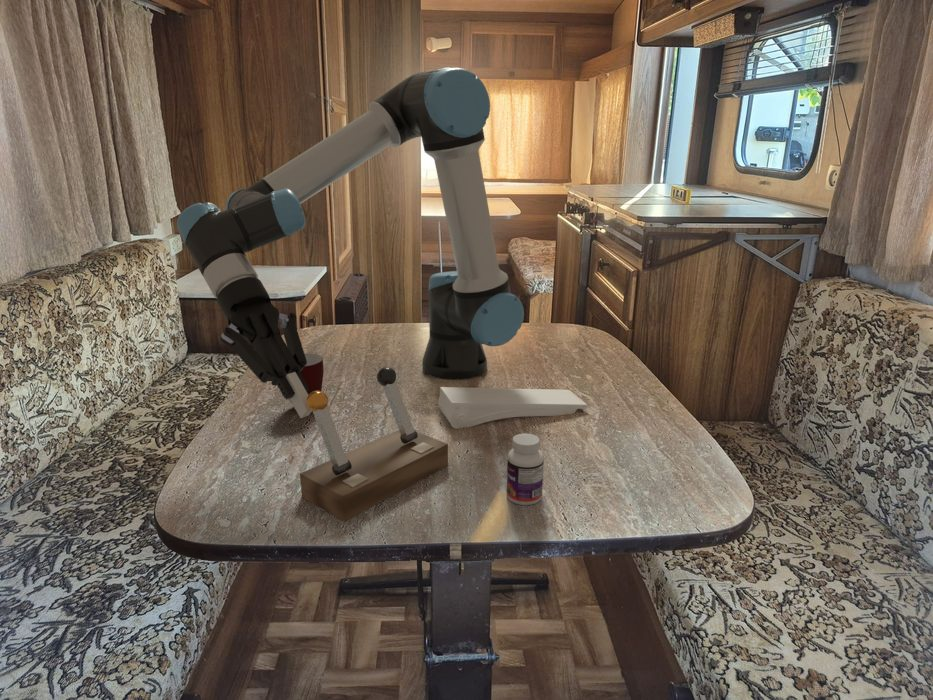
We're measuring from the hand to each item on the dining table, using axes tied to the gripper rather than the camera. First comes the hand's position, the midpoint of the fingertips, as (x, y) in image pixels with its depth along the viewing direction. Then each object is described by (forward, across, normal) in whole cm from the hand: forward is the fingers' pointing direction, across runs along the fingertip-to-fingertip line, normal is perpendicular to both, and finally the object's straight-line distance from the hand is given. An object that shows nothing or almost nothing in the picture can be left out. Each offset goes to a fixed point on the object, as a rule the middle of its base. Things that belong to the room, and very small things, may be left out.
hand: (307, 412), depth 101 cm
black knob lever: (+10, -14, 0) cm, 17 cm away
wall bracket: (+14, -43, -4) cm, 46 cm away
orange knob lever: (+10, 0, 0) cm, 10 cm away
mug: (-9, -17, -27) cm, 33 cm away
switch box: (+14, -7, -3) cm, 16 cm away
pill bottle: (+28, -19, +11) cm, 35 cm away
